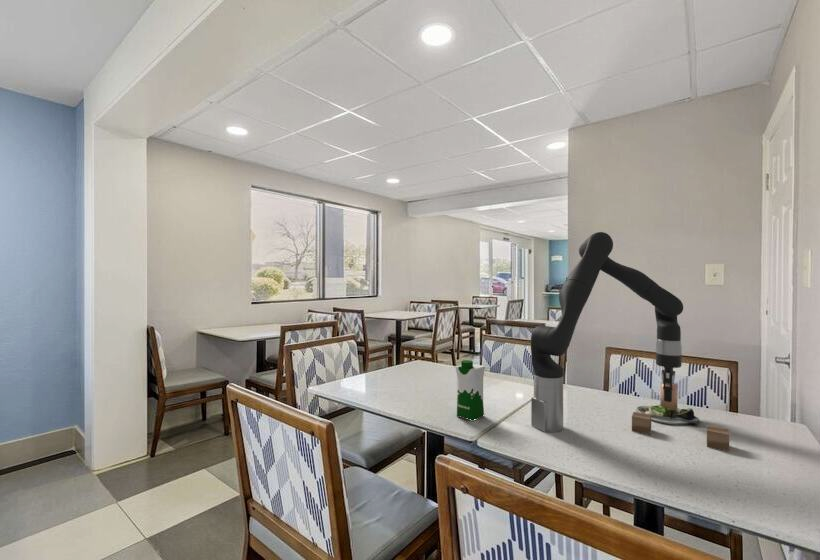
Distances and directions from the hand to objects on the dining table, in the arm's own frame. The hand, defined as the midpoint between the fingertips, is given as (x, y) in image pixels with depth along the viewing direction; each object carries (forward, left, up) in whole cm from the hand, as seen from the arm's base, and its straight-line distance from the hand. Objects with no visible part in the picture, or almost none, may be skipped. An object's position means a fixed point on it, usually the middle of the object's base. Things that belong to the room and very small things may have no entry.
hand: (668, 398), depth 137 cm
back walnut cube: (-20, -4, -7) cm, 21 cm away
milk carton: (-63, +30, -7) cm, 70 cm away
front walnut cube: (-11, -21, -7) cm, 25 cm away
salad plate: (0, 0, -7) cm, 7 cm away
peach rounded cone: (0, 0, -3) cm, 3 cm away
